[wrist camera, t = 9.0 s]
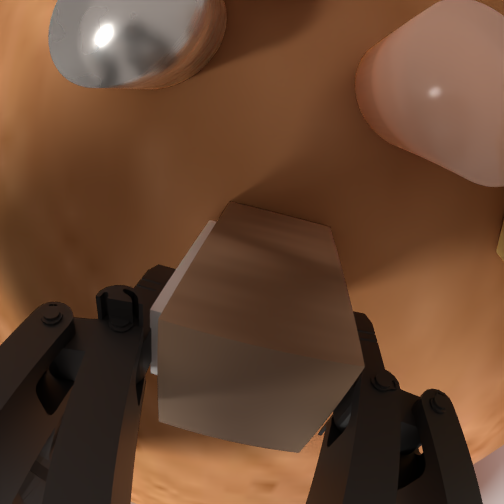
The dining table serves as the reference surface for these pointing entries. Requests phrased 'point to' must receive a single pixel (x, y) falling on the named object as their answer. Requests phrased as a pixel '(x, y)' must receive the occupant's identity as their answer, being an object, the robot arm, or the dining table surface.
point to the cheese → (501, 244)
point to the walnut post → (258, 333)
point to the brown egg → (441, 89)
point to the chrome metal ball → (134, 41)
